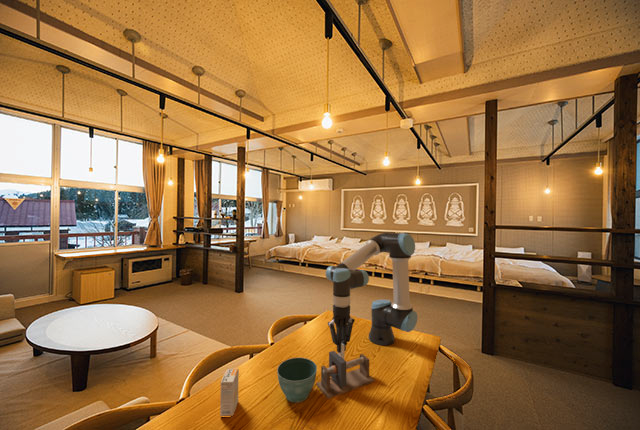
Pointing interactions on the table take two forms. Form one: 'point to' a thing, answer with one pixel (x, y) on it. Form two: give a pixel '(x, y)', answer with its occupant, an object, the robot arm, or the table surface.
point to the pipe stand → (352, 378)
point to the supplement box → (229, 392)
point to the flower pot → (297, 378)
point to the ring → (341, 363)
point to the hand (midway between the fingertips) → (341, 359)
